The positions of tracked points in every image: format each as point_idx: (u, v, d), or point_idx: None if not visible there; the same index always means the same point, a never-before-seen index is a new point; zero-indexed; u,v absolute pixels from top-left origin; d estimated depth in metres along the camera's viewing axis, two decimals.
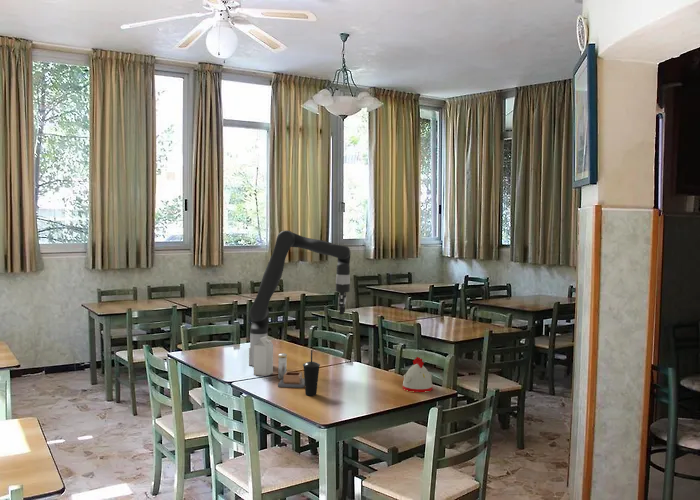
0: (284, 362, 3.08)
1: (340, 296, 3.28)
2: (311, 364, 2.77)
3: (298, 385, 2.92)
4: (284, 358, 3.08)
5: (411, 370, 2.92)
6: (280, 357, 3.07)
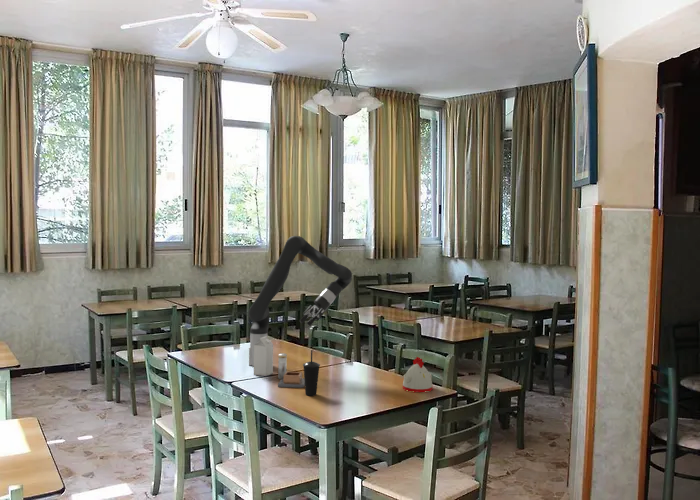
0: (284, 362, 3.08)
1: (322, 310, 3.12)
2: (311, 364, 2.77)
3: (298, 385, 2.92)
4: (284, 358, 3.08)
5: (411, 370, 2.92)
6: (280, 357, 3.07)
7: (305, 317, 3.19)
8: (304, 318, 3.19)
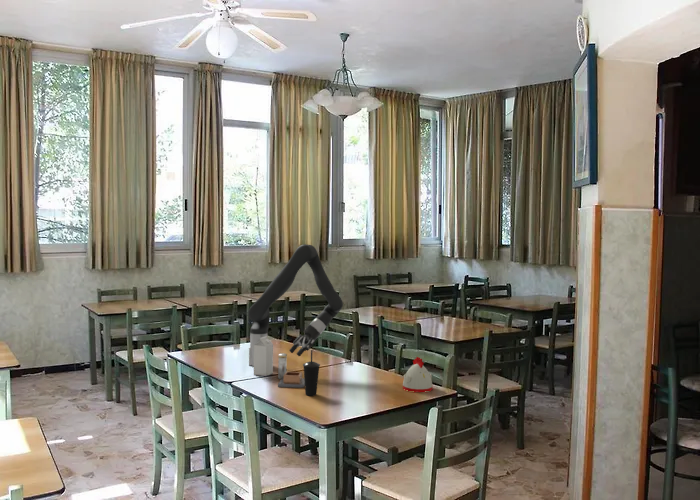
0: (284, 362, 3.08)
1: (312, 340, 3.10)
2: (311, 364, 2.77)
3: (298, 385, 2.92)
4: (284, 358, 3.08)
5: (411, 370, 2.92)
6: (280, 357, 3.07)
7: (295, 347, 3.17)
8: (294, 348, 3.17)
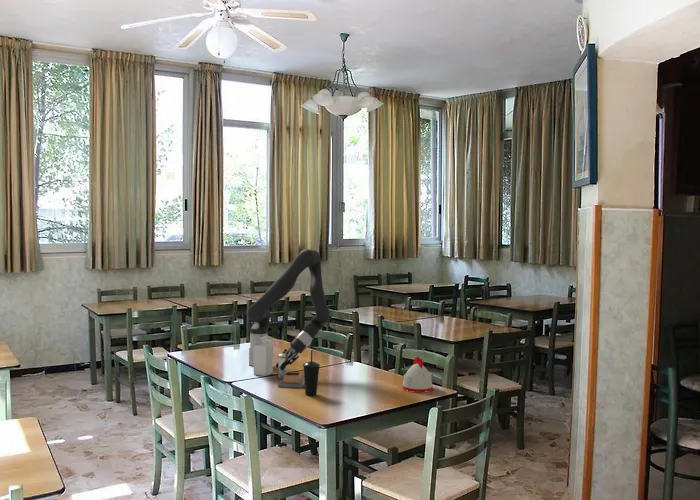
0: None
1: (295, 355, 3.06)
2: (311, 364, 2.77)
3: (298, 385, 2.92)
4: (284, 358, 3.08)
5: (411, 370, 2.92)
6: (280, 357, 3.07)
7: None
8: None
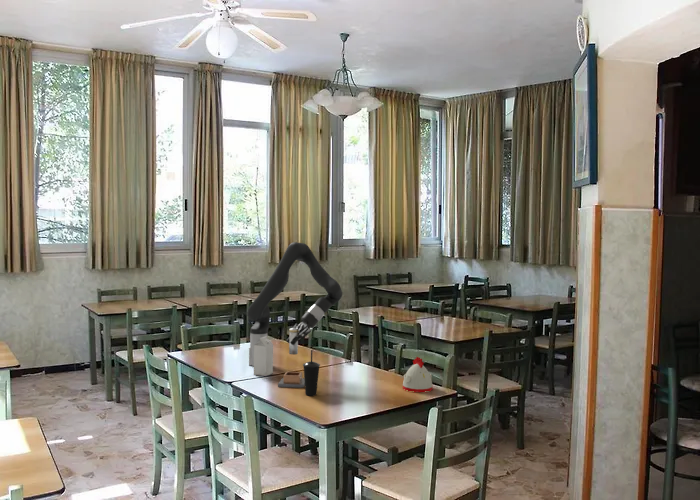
0: (295, 336, 2.96)
1: (307, 329, 2.94)
2: (311, 364, 2.77)
3: (298, 385, 2.92)
4: (295, 332, 2.96)
5: (411, 370, 2.92)
6: (291, 331, 2.96)
7: None
8: None
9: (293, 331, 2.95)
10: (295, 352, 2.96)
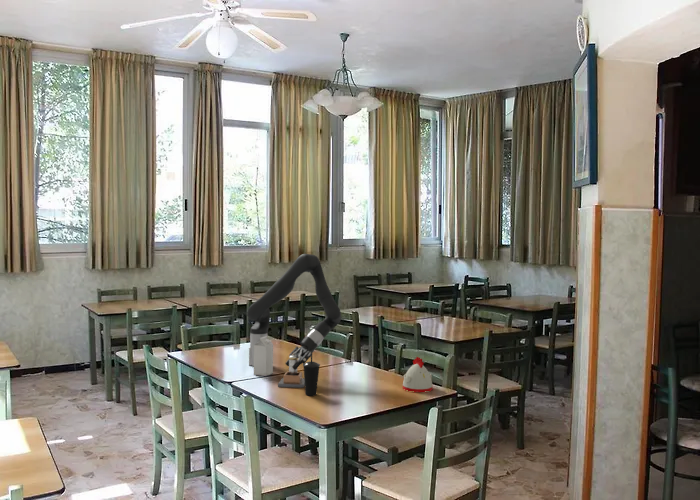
0: None
1: (308, 353, 2.94)
2: (311, 364, 2.77)
3: (298, 385, 2.92)
4: (295, 360, 2.96)
5: (411, 370, 2.92)
6: (291, 359, 2.96)
7: None
8: None
9: (293, 359, 2.96)
10: None
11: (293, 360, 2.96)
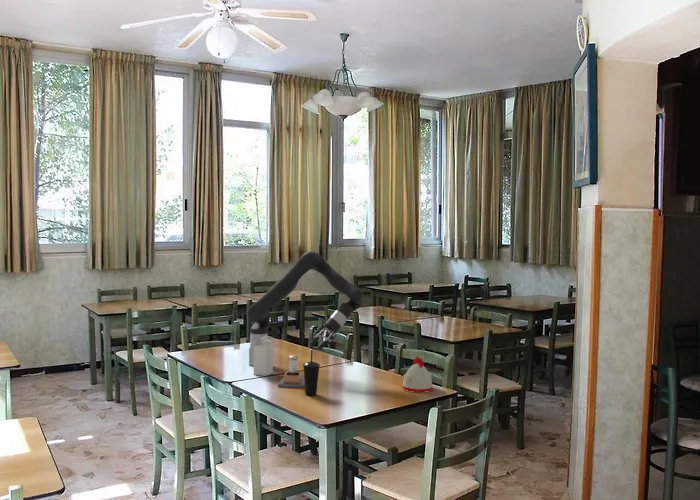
0: (294, 364, 2.96)
1: (333, 333, 3.01)
2: (311, 364, 2.77)
3: (298, 385, 2.92)
4: (295, 360, 2.96)
5: (411, 370, 2.92)
6: (291, 359, 2.96)
7: (315, 340, 3.08)
8: (314, 341, 3.08)
9: (292, 359, 2.96)
10: None
11: (293, 360, 2.96)
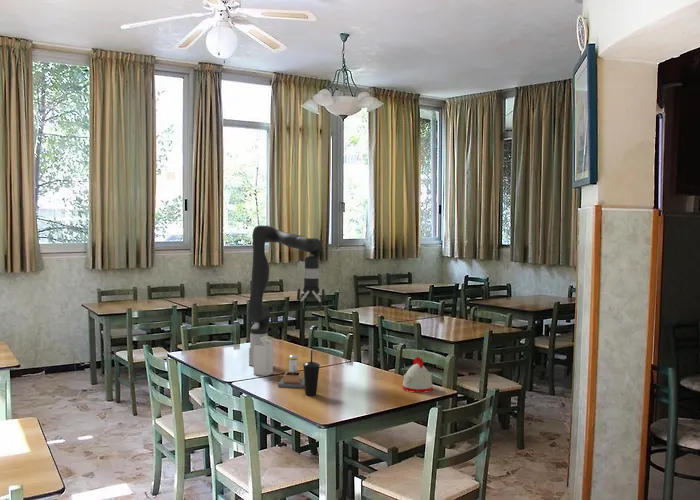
0: (294, 364, 2.96)
1: (324, 290, 3.19)
2: (311, 364, 2.77)
3: (298, 385, 2.92)
4: (295, 360, 2.97)
5: (411, 370, 2.92)
6: (291, 359, 2.96)
7: (303, 302, 3.21)
8: (303, 303, 3.21)
9: (293, 358, 2.96)
10: None
11: (293, 360, 2.96)
